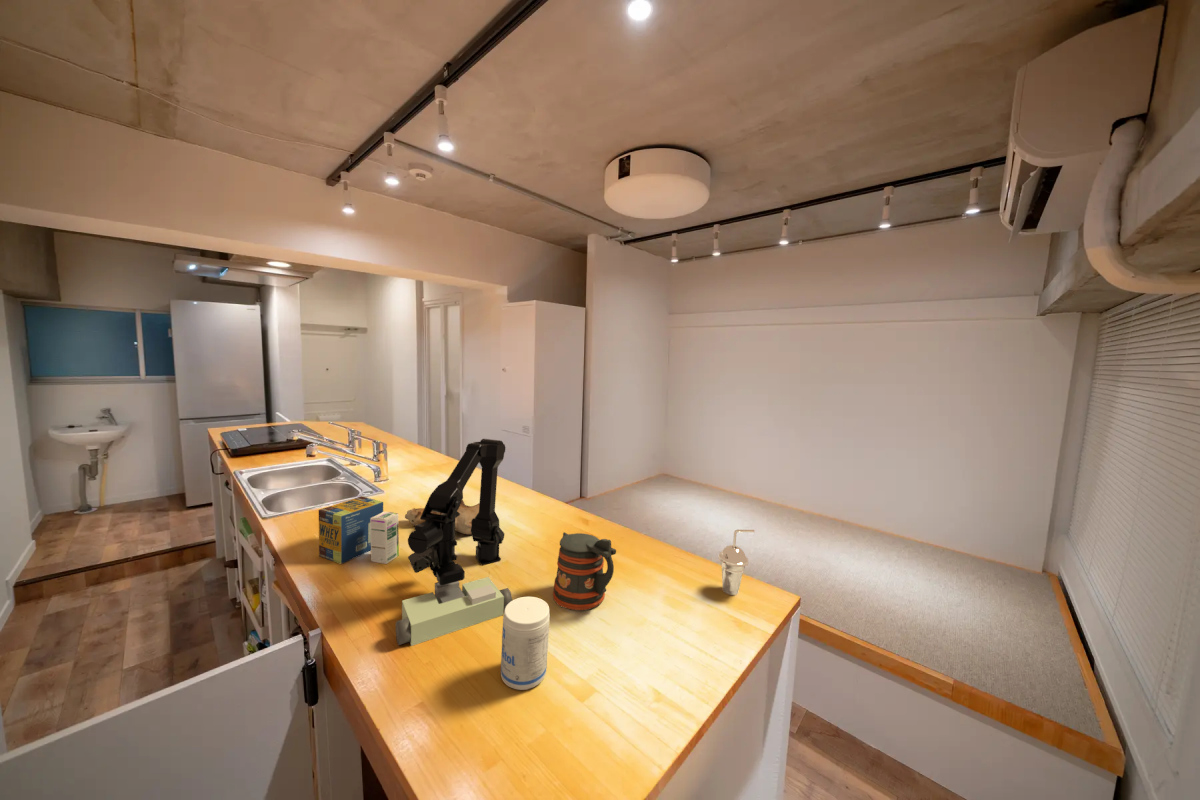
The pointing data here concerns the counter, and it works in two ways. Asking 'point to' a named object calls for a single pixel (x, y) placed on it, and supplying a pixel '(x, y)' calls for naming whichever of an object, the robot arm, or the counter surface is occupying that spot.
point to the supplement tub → (525, 642)
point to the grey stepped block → (448, 592)
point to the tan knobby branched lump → (461, 522)
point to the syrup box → (384, 537)
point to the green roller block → (450, 612)
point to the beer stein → (582, 571)
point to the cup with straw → (733, 566)
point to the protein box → (347, 528)
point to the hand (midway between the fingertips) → (442, 591)
